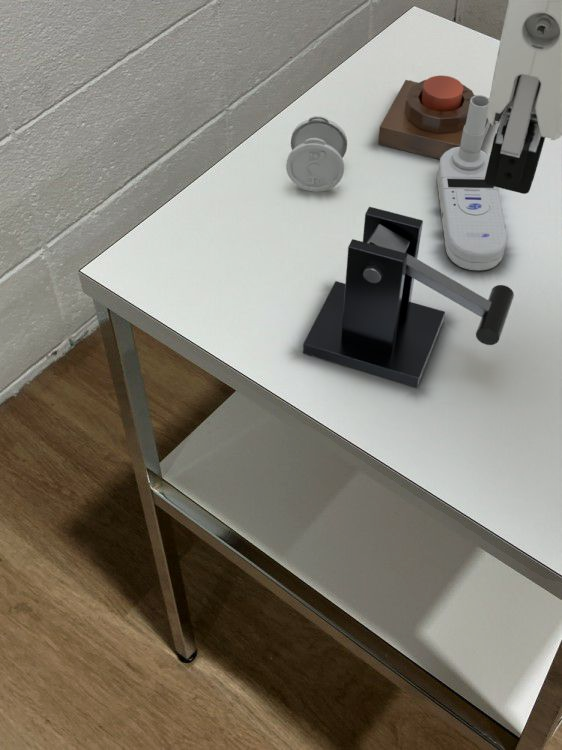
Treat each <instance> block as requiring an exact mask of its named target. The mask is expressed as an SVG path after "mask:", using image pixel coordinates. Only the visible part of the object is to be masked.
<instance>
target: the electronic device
mask: <svg viewBox="0 0 562 750" xmlns="http://www.w3.org/2000/svg"><path fill="white" fill-rule="evenodd" d="M475 95H476V94H475ZM488 98H489V97H487V96H485V95H482V94H477V95H476V96H473V97H472V98H471V100H470V105H469V110H468V115H467V120H466V125H465V126H464V128H463V133H462V138H461V145H460V147H455V148H452V149H450V150H448V151H446V152H445V153H444V154H443V155H442V157H441V158H440V159H439V164H438V168H437V169H438V170H437V175H436V181H437V189H438V190H437V191H438V198H439V207H440V214H441V222H442V230H443V235H444V247H445V251H446V254H447V256H448V258H449V259H450V260H451V262H452V263H454V264H455V265H457V266H458V267H460V268H462V269H466V270H469V271H485V270H490V269H493V268H495V267H496V266H498V264H500V262H501V261H502V260H503V257H504V254H505V251H506V246H507V243H508V234H507V229H506V223H505V217H504V212H503V207H502V202H501V201H502V200H501V195H500V188H498V187H494V186H490V185H487V184H486V183H485V175H486V171H487V166H488V162H489V158H490V154H487V152H485V151H483V150H482V147H483V143H484V141H483V139H484V140H485V138H484V134H485V124H486V119H487V111H488V104H489V99H488Z"/></svg>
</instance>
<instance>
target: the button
mask: <svg viewBox="0 0 562 750" xmlns="http://www.w3.org/2000/svg"><path fill="white" fill-rule="evenodd" d="M425 80H426V81H425V82H424V84H423V92H422V99H421V101H422V104H423V105H424V106H425V107H427V108H428V109H430V110H435V111H439V112H445V111H454V110H456V109H458V108H459V107H460V104H461V99H462V93H463V85H464V84H463V83H462V82H461V81H460V80H458V79H457V78H455V77H452V76H449V75H434V76H430V77H429V78H427V79H425ZM462 84H463V85H462Z"/></svg>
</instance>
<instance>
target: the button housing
mask: <svg viewBox="0 0 562 750" xmlns="http://www.w3.org/2000/svg"><path fill="white" fill-rule="evenodd" d="M426 80H427V79H423V80H422V81H420V82H418V81H413V80H408V79H405V80H404V82H403V84H402V86H401V87H400V89H399V91H398V93H397V95H395V98H394V100H393V102H392V104H391V105H390V107H389V109H388V111H387V113H385V114H386V115H385V116H384V118H383V120H382V121H381V123H380V125H379V129H378V140H377V141H378V142H377V144H378V145H379V146H382V147H387V148H391V149H397V150H400V151H404V152H409V153H413V154H417V155H421V156H424V157H429V158H433V159H438V160H440V158H441V157H442V155H443V154H444V153H445V152H446V151H448V150H450V149H452V148H455V147H460V145H461V138H462V133H463V128H464V126H465V125H466V120H467V115H468V110H469V105H470V100H471V98H472V97H473V96H476V94H474V92H473V90H472V89H471V88H469V87H467V86H466V85H464V84H463V83H461V84H462V85H463V93H462V99H461V104H460V107H459V108H458V109H456V110H454V111H445V112H439V111H435V110H430V109H428V108H427V107H425V106H424V105H423V104H422V101H421V99H422V92H423V84H424V82H425V81H426ZM487 98H488V99H489V98H490V97H487ZM491 125H492V124H491V123H490V122H489V120H488V118H487V119H486V124H485V134H484V139H483V142H484V140H485V139H486V136H487V134H488V131H489V129H490V127H491Z"/></svg>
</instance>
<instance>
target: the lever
mask: <svg viewBox="0 0 562 750" xmlns="http://www.w3.org/2000/svg"><path fill="white" fill-rule="evenodd" d="M367 243H369V244H373V245H377V246H380V247H384V248H388V249H392V250H395V251H399V252H403V253H406V250H407V248H408V246H409V243H410V241H408V240H407V239H405V238H403V237H401V236H400V235H398V234H396V233H394V232H393V231H391V230H389V229H387V228H386V227H384V226H382V225H381V224H379V225H378V226H377V228H376V229H375V231H374V232H373V234H372V235H371V237H370V238H369V240H368V241H367ZM406 254H407V253H406ZM405 274H407V275H409V276H410V277H412V278H414V280H416V281H417V282H419V283H421V284H422V285H425V286H426V287H428V288H430V289H432V290H433V291H435V292H437V293H438V294H439V295H442V296H444V297H445V298H447V299H449V300H450V301H452V302H454V303H456V304H458V305H459V306H461V307H463V308H464V309H466V310H468V311H469V312H471V313H473V314H475V315H476V316H478V317H480V321H479V324H478V327H477V329H476V332H475V337H476V340H478V342H480V343H481V344H482V345H483V344H484V345H486V346H494V345H496V344H497V343H499V341H500V338H501V335H502V332H503V329H504V327H505V324H506V321H507V318H508V315H509V312H510V309H511V306H512V303H513V300H514V297H515V293H514V291H513V289H512V288H511V287H509V286H508V285H503V284H497V285H495V286H494V287H492V288H491V291H490V293H489V296H488V298H485V297H484V296H482V295H480V294H479V293H477V292H475V291H474V290H472V289H470V288H469V287H467V286H465V285H463V284H461V283H460V282H458V281H456V280H454V279H453V278H451V277H449V276H447V275H445V274H444V273H442V272H440V271H439V270H437V269H436V268H433V267H431V266H430V265H428V264H427V263H424V262H423V261H421V260H420V259H419V258H417V259H416V258H414V257H413V256H411V255H409V254H408V257H407V264H406V271H405Z"/></svg>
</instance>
